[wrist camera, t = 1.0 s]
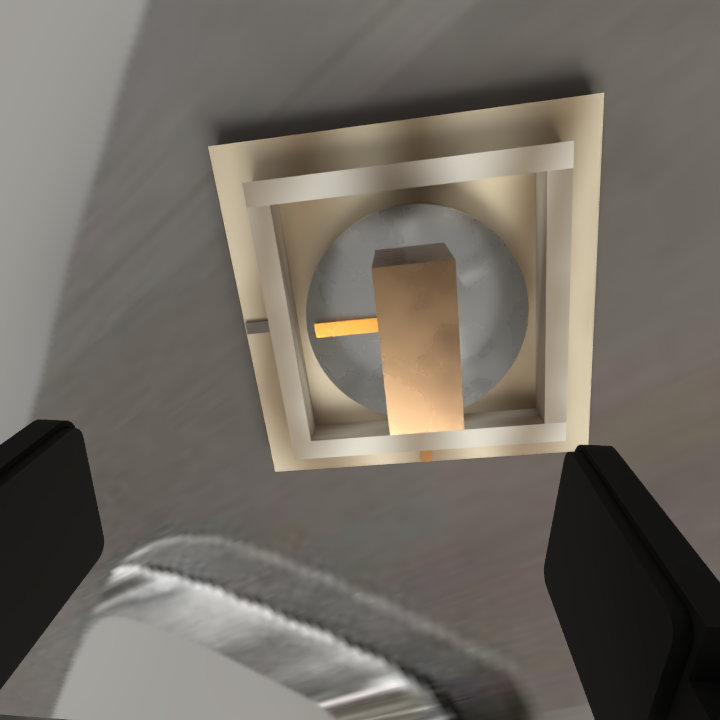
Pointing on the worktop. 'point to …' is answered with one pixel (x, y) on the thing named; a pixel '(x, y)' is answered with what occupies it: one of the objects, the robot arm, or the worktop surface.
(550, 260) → the dial board
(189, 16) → the worktop surface
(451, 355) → the dial
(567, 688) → the worktop surface
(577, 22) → the worktop surface
